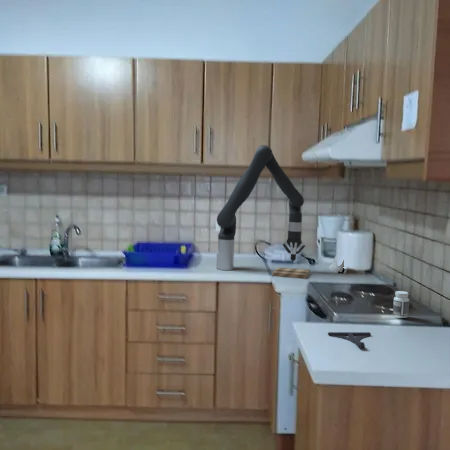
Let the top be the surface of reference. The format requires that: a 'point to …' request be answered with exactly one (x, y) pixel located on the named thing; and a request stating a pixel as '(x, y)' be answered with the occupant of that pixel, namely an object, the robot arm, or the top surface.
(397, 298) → the pill bottle
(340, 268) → the white crumpled paper
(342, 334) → the bracket
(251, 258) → the top surface
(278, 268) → the oak plank
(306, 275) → the walnut plank
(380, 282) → the top surface
